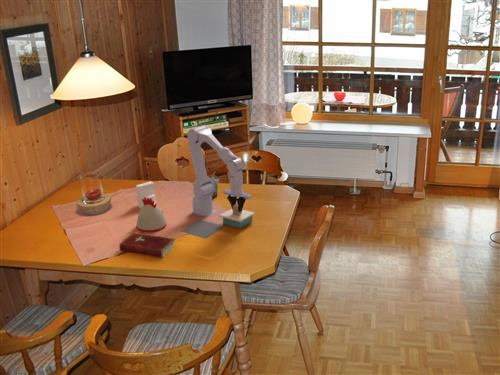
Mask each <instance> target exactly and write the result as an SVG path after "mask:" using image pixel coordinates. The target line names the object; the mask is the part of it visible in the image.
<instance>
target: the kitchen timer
mask: <svg viewBox="0 0 500 375" xmlns="http://www.w3.org/2000/svg"><path fill="white" fill-rule="evenodd" d="M142 202H143V204H144V207H143V208H142V209H140V211H139V213H138V216H137V220H136V230H137V231H138V233H139V232H140V233H141V234H146V233H155V232H159V231H162V230H164V229H165V228H166V227H167V225H168V224H167V220H166V219H167V218H166V217H165V214H164V211H163V210H162V209H161V208H160V207H159V206H158V205H157V203H156V204H154V201H152V199H151V198H150V200H149V197H148V198H147V199H146V197H144V199H142Z"/></svg>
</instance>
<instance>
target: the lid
mask: <svg viewBox="0 0 500 375" xmlns="http://www.w3.org/2000/svg"><path fill="white" fill-rule="evenodd" d="M255 214H256V213H255V211H250V210H246V209H242V211H241V212H239V211H238V203H236V204H234V205H233V210H232V208H230V209H229V210H226V211H224V212H223V213H220V214H219V217H220V218H222V219H223V218H227V219H231V220H235V221H239V222H241V221H243V220H245V219H247V218H249V217H251V216H252V217H253V216H254V215H255Z"/></svg>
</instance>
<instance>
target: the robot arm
mask: <svg viewBox="0 0 500 375" xmlns="http://www.w3.org/2000/svg"><path fill="white" fill-rule="evenodd" d="M212 132H213V131H212V129H211V128H210V127H209V126H208V125H207V124H202V125H199V126H196V127H193V128H190V129H188V131H187V133H186V137H187V143H188V148H189V152H190V156H191V157H190V158H191V161H192V164H193V170H194V174H195V179H194V182H193V184H192V185H193V194H194V196H193V198H192V214H194V215H195V214H196V215H198V216H204V217H209V216H211V215H212V214H214V213H217V210H216V209H213V199H212V195H213V192H214V191H215V186H214V184H213V182H212V179H211V178H210V176H208V174H207V169H206V164H205V161H204V160H205V159H204V156H203V152H202V151H203V150H202V146H201V145H202V144H203V143H206V144H207V145H209V146H210V147H211V148H212V149H214V150H215V151H216V152H217V156H218V157H219V159H220V160H222V162H223V163H224V164H225V165H226V169H227V170H228V174H229V180H230V184H229V185H230V189H228V188H227V189H226V188H225V189H223V190H222V194H223V195H228V196H227V198H226V199H227V201H229V204H230V206H231V209H232V210H233V205H234V204H238V211H239V212H241V211H242V210H244V209H243V208H244V205H245V202H246V200H248V201H249V200H251V199H252V195H251V194H249V193H247V192H245V191H244V190H243V188H244V186H243V182H244V181H243V169H244V168H245V164H246V163H245V161H244V159H243V157H240V156H237V155H235V154H234V153H233V152H232V151H231V150H230V148H229V147H227V146H223V145H222V144H221V143H220V141H219V140H218V139H217V138H216V137H215V136H214V135H213V133H212Z"/></svg>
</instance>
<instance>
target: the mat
mask: <svg viewBox="0 0 500 375" xmlns="http://www.w3.org/2000/svg"><path fill="white" fill-rule="evenodd" d="M226 226H227V225H223V224H222V225H221V224H217V223H214V222H211V221H206V220H204V219H203V220H202V219H199V220H198V221H197V220H196V221H195V222H194V223H192V224H191V225H189V226H187V227H185V228H183V229H181V230H180V232H182V233H185V234H189V235H191V236H195V237H198V238H202V239H204V240H205V239H208V238H210V237H211V236H213V235H214V234H216V233H218V232H219V231H220V230H222V229H224V228H226Z"/></svg>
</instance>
